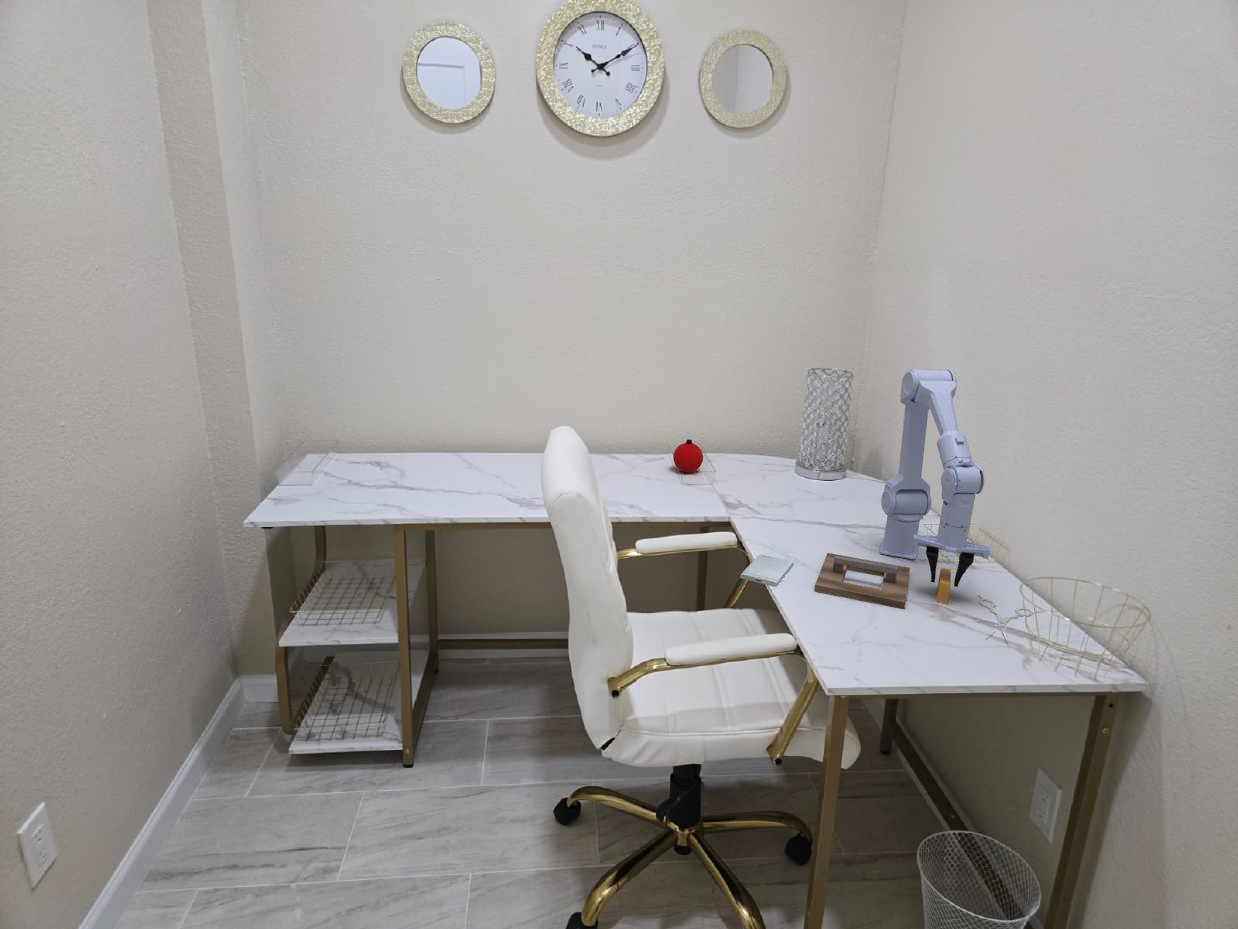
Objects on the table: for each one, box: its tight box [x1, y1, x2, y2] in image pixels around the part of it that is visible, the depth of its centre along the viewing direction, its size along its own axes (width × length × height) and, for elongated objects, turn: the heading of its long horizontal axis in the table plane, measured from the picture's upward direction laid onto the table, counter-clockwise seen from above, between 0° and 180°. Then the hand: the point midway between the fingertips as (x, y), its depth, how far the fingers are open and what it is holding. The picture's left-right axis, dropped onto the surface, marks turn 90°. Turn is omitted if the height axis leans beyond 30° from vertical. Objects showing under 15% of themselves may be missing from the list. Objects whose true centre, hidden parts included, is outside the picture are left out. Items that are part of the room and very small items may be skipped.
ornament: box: [672, 438, 704, 473], centre depth 238 cm, size 9×9×10 cm
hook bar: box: [833, 556, 898, 584], centre depth 170 cm, size 2×13×3 cm, turn 68°
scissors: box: [977, 593, 1034, 637], centre depth 157 cm, size 11×1×20 cm
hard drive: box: [739, 554, 795, 588], centre depth 175 cm, size 2×8×12 cm
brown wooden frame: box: [814, 552, 911, 610], centre depth 171 cm, size 18×18×2 cm
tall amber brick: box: [936, 567, 952, 605], centre depth 166 cm, size 8×2×4 cm, turn 158°
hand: (944, 582), depth 166 cm, fingers open, 4 cm apart
